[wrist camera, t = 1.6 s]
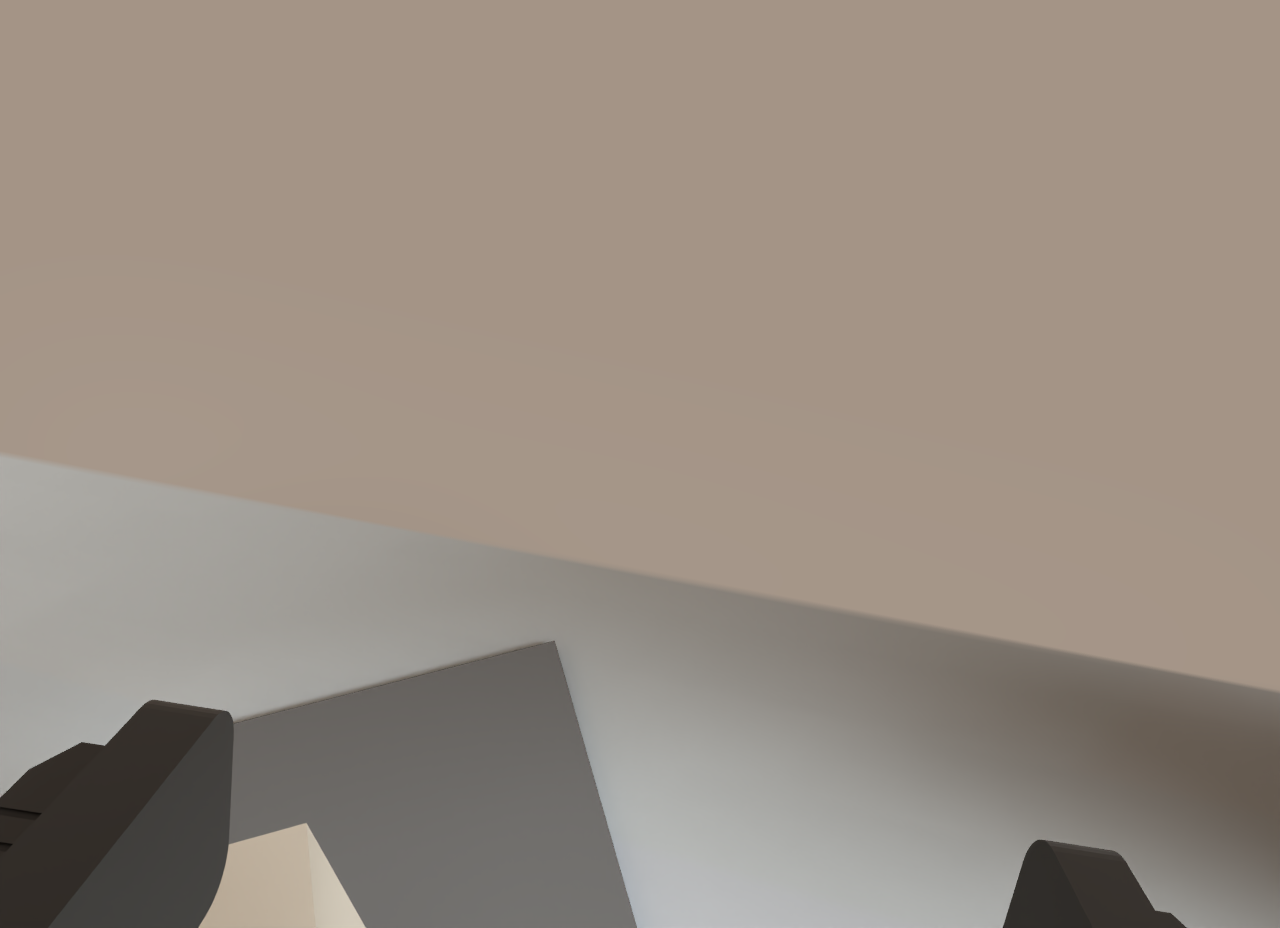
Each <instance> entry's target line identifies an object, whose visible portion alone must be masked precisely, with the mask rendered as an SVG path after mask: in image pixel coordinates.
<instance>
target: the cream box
mask: <svg viewBox="0 0 1280 928" xmlns="http://www.w3.org/2000/svg"><path fill="white" fill-rule="evenodd" d="M198 928H366V927H365V926H364V924H363V922H362V920H361V918H360V917H359V915H358V913H357V911H356V910H355V908H354V906H353V904H352V903H351V901H350V899H349V897H348V896H347V894H346V892H345V890H344V888H343V887H342V885H341V883H340V881H339V880H338V878H337V876H336V874H335V873H334V871H333V869H332V867H331V865H330V864H329V862H328V860H327V858H326V857H325V855H324V853H323V851H322V850H321V848H320V846H319V844H318V842H317V841H316V839H315V837H314V835H313V834H312V832H311V830H310V828H309V827H308V825H307V823H304V824H301V825H297V826H293V827H290V828H286V829H283V830H279V831H275V832H272V833H268V834H264V835H261V836H257V837H254V838H250V839H246V840H243V841H239V842H236V843H232V844H229V846H228V854H227V859H226V864H225V868H224V872H223V876H222V879H221V882H220V885H219V888H218V891H217V893H216V896H215V898H214V901H213V903H212V905H211V907H210V909H209V911H208V912H207V914H206V916H205V918H204V919H203V921H202V922H201V924H200V926H199V927H198Z"/></svg>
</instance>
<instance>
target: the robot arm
mask: <svg viewBox="0 0 1280 928" xmlns="http://www.w3.org/2000/svg"><path fill="white" fill-rule="evenodd" d="M233 742H234V726H233V720H232V717H231V715H230V713H229V712H227V711H222V710H216V709H209V708H203V707H197V706H190V705H184V704H177V703H171V702H164V701H158V700H151V701H149V702H147V703H145V704H144V705H143V706H142V707H141V708H140V709H139V710H138V711H137V712H136V713H135V714H134V715H133V717H132V718H131V719H130V720H129V721H128V722H127V723H126V724H125V725H124V726H123V727H122V728H121V729H120V730H119V731H118V733H117V734H116V735H115V736H114V737H113V738H112V739H111V740H110V741H109V742H108V743H107V744H106V745H105V746H103V745H96V744H90V743H83V742H81V743H79V744H78V745H76V746H74V747H72V748H70V749H68V750H66V751H64V752H62V753H60V754H58V755H56V756H54V757H52V758H50V759H49V760H47V761H45V762H43V763H41V764H39V765H37V766H35V767H33V768H31V769H29V770H28V771H27V772H26V773H25V774H24V775H23V776H22V777H21V778H20V779H19V780H18V781H17V782H16V783H15V784H14V785H13V786H12V787H11V788H10V789H9V790H8V791H7V792H6V793H5V794H4V795H3V796H2V797H1V798H0V928H198V927H199V926H200V924H201V922H202V921H203V919H204V918H205V916H206V914H207V912H208V911H209V909H210V907H211V905H212V903H213V901H214V898H215V896H216V893H217V891H218V888H219V885H220V882H221V879H222V876H223V872H224V868H225V864H226V859H227V854H228V846H229V830H230V808H231V786H232V764H233ZM1003 928H1186V927H1185V926H1184V925H1183V924H1182V923H1181V922H1180V921H1179V920H1178V919H1177V918H1175V917H1174V916H1173V915H1172V914H1171V913H1166V912H1160V911H1155V910H1154V908H1153V906H1152V905H1151V903H1150V901H1149V900H1148V898H1147V897H1146V895H1145V893H1144V892H1143V890H1142V888H1141V887H1140V885H1139V883H1138V882H1137V880H1136V878H1135V877H1134V875H1133V873H1132V872H1131V870H1130V868H1129V867H1128V865H1127V863H1126V862H1125V860H1124V859H1123V858H1122V856H1121V855H1119V854H1118V853H1117V852H1115V851H1111V850H1104V849H1098V848H1091V847H1085V846H1078V845H1072V844H1065V843H1059V842H1053V841H1046V840H1037V841H1035V842H1034V843H1033V844H1032V845H1031V846H1030V848H1029V849H1028V851H1027V853H1026V855H1025V858H1024V861H1023V864H1022V867H1021V871H1020V874H1019V877H1018V880H1017V884H1016V887H1015V890H1014V893H1013V897H1012V900H1011V903H1010V906H1009V910H1008V913H1007V916H1006V919H1005V923H1004V926H1003Z"/></svg>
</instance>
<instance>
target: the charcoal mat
mask: <svg viewBox="0 0 1280 928" xmlns="http://www.w3.org/2000/svg"><path fill="white" fill-rule="evenodd" d="M233 726H234V742H233V764H232V786H231V808H230V830H229V844H232V843H236V842H239V841H243V840H246V839H250V838H254V837H257V836H261V835H264V834H268V833H272V832H275V831H279V830H283V829H286V828H290V827H293V826H297V825H301V824H304V823H307V825H308V827H309V828H310V830H311V832H312V834H313V835H314V837H315V839H316V841H317V842H318V844H319V846H320V848H321V850H322V851H323V853H324V855H325V857H326V858H327V860H328V862H329V864H330V865H331V867H332V869H333V871H334V873H335V874H336V876H337V878H338V880H339V881H340V883H341V885H342V887H343V888H344V890H345V892H346V894H347V896H348V897H349V899H350V901H351V903H352V904H353V906H354V908H355V910H356V911H357V913H358V915H359V917H360V918H361V920H362V922H363V924H364V926H365V927H366V928H637V926H636V923H635V919H634V916H633V912H632V909H631V905H630V902H629V898H628V895H627V891H626V888H625V884H624V881H623V877H622V874H621V870H620V867H619V864H618V860H617V857H616V853H615V850H614V846H613V843H612V839H611V836H610V832H609V829H608V825H607V822H606V818H605V815H604V811H603V808H602V804H601V801H600V797H599V794H598V790H597V787H596V783H595V780H594V776H593V773H592V769H591V766H590V763H589V759H588V756H587V752H586V749H585V745H584V742H583V738H582V735H581V731H580V728H579V724H578V721H577V717H576V714H575V710H574V707H573V703H572V700H571V696H570V693H569V689H568V686H567V682H566V679H565V675H564V672H563V669H562V665H561V662H560V658H559V655H558V651H557V648H556V644H555V641H552V642H548V643H544V644H540V645H536V646H532V647H528V648H525V649H521V650H517V651H513V652H509V653H505V654H501V655H497V656H494V657H490V658H486V659H482V660H478V661H474V662H470V663H466V664H463V665H459V666H455V667H451V668H447V669H443V670H439V671H435V672H432V673H428V674H424V675H420V676H416V677H412V678H408V679H404V680H401V681H397V682H393V683H389V684H385V685H381V686H377V687H374V688H370V689H366V690H362V691H358V692H354V693H350V694H346V695H343V696H339V697H335V698H331V699H327V700H323V701H319V702H315V703H312V704H308V705H304V706H300V707H296V708H292V709H288V710H284V711H281V712H277V713H273V714H269V715H265V716H261V717H257V718H254V719H250V720H246V721H242V722H238V723H234V724H233Z"/></svg>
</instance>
